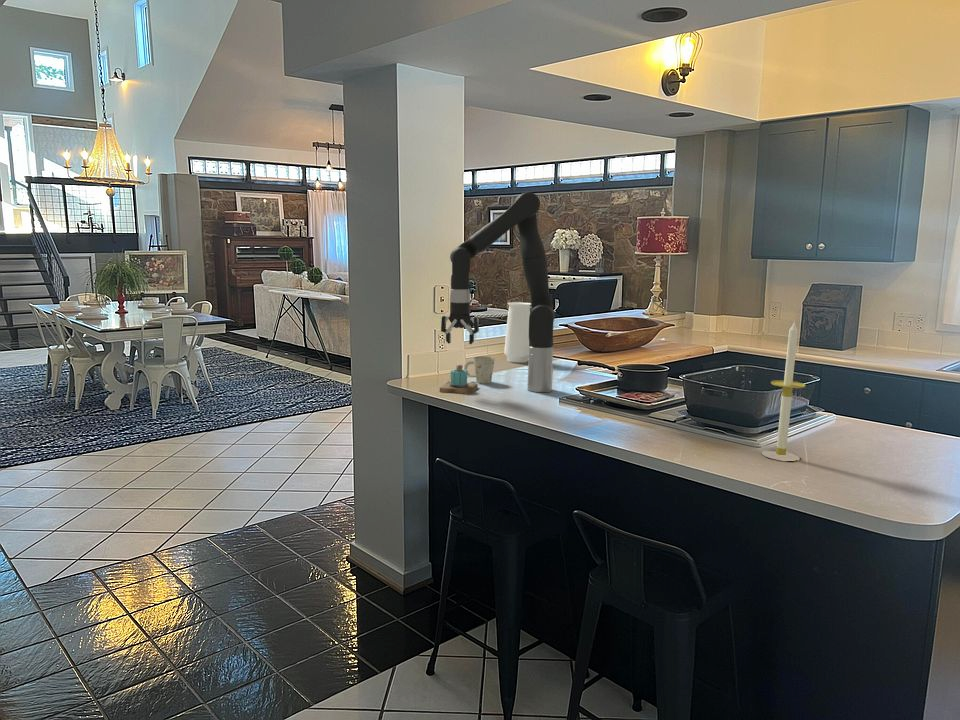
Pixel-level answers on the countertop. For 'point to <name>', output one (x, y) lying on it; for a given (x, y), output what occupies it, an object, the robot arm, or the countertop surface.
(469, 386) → the post block
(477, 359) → the mug
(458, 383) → the collar
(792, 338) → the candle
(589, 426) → the countertop surface
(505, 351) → the vase
